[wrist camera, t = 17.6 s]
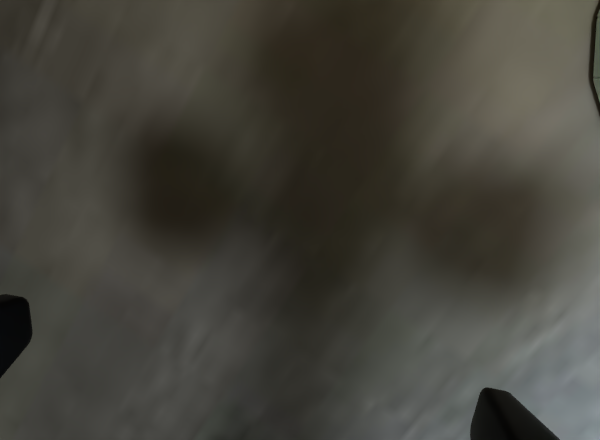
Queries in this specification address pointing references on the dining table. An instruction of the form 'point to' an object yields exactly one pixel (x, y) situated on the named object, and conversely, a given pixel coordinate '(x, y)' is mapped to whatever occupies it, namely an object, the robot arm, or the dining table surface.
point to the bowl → (597, 58)
